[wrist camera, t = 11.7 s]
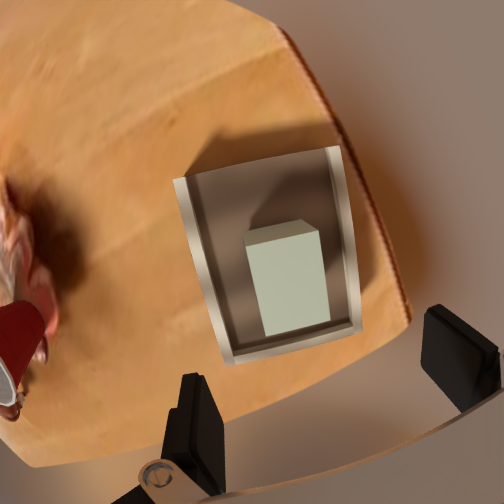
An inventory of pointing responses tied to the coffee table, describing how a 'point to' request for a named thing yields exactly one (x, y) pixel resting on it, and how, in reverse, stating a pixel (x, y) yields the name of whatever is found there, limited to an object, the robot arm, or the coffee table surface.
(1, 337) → the plastic cup
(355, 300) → the grey tray
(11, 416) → the bull figurine
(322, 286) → the sage green cube
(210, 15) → the coffee table surface
